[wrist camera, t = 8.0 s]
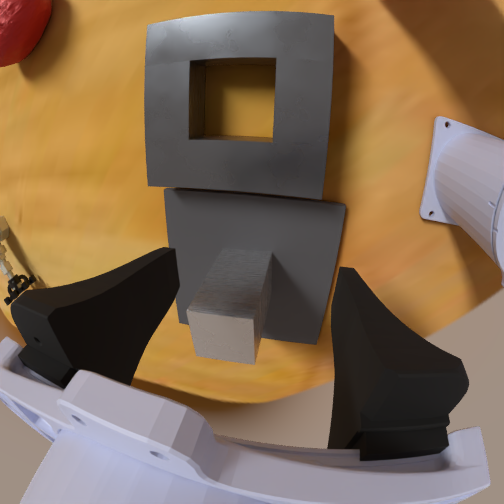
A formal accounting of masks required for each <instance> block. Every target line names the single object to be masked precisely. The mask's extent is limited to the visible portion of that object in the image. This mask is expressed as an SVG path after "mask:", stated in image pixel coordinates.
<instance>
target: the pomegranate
mask: <svg viewBox="0 0 504 504" xmlns="http://www.w3.org/2000/svg"><path fill="white" fill-rule="evenodd" d="M51 7H52V6H51V0H0V67H5V66H9V65H12V64H15V63H19V62H20V61H22V60H23V59H25V58H26V57H27V56H28V55H29V54H30V53H31V51H32V50H33V48H34V47H35V46H36V44H37V43H38V41H39V40H40V38H41V36H42V34H43V32H44V29H45V27H46V25H47V23H48V21H49V18H50V15H51V10H52V8H51Z"/></svg>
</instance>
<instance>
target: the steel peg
mask: <svg viewBox="0 0 504 504" xmlns="http://www.w3.org/2000/svg"><path fill="white" fill-rule="evenodd" d="M271 294H272V252H265V251H250V250H234V249H222V251H221V253H220V254H219V256H218V258H217V259H216V261H215V263H214V264H213V266H212V268H211V269H210V271H209V273H208V275H207V276H206V278H205V280H204V281H203V283H202V285H201V286H200V288H199V290H198V292H197V293H196V295H195V297H194V299H193V300H192V302H191V304H190V305H189V307H188V309H187V311H186V312H187V317H188V321H189V326H190V331H191V335H192V339H193V344H194V348H195V352H196V356H200V357H206V358H212V359H218V360H224V361H231V362H238V363H246V364H254V365H255V362H256V358H257V354H258V349H259V345H260V341H261V337H262V333H263V328H264V324H265V320H266V315H267V311H268V307H269V302H270V298H271Z"/></svg>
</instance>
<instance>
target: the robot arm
mask: <svg viewBox="0 0 504 504" xmlns="http://www.w3.org/2000/svg"><path fill="white" fill-rule="evenodd" d="M445 122H448V127H447V128H446V127H445ZM430 211H433V213H432V215H430V216H429V212H430ZM419 214H420V216H421V217H422V218H424V219H427V220H433V221H438V222H443V223H448V224H453V225H458V226H460V227H461V228H462V229H463V230H464V231H465V232H466V233H467V234H468V235H469V236H470V237H471V238H472V239H473V240H474V241H475V242H476V243H477V244H478V245H479V246H480V247H481V248H482V249H483V250H484V251H485V252H486V253H487V254H488V256H489V257H490V258H491V259H492V260H493V261H494V262H495V263H496V265H497V266H498V267H499V268H500V269H501V272H502V284H501V285H502V286H503V287H504V140H502V139H500V138H498V137H496V136H493V135H491V134H489V133H486V132H484V131H481V130H479V129H476V128H474V127H471V126H468V125H466V124H463V123H460V122H457V121H454V120H451V119H448V118H445V117H441V116H438V117H436V119H435V122H434V131H433V139H432V147H431V153H430V160H429V166H428V172H427V177H426V182H425V187H424V192H423V197H422V202H421V206H420V210H419ZM179 288H180V280H179V273H178V266H177V258H176V250H175V248H167V247H162V248H159V249H157V250H154V251H152V252H150V253H148V254H146V255H144V256H142V257H139V258H137V259H135V260H133V261H131V262H129V263H127V264H125V265H123V266H120V267H118V268H116V269H114V270H111V271H109V272H107V273H104V274H102V275H99V276H96V277H93V278H90V279H87V280H83V281H80V282H76V283H72V284H68V285H64V286H58V287H53V288H45V289H35V290H26V291H25V292H23V293H22V294H21V295H20V296H19V297H18V298H17V299H16V300H15V301H14V302H13V303H12V304H11V314H12V318H13V320H14V322H15V324H16V326H17V328H18V330H19V331H20V333H21V335H22V337H23V338H24V340H25V342H26V344H27V345H26V346H25V347H24V348H22V347H21V346H20V345H19V344H18V343H17V342H15V341H13V340H12V339H10V338H9V337H5V338H4V340H3V341H2V342H1V343H0V399H1V400H2V402H3V403H4V404H5V405H6V406H7V407H8V408H9V409H11V410H12V411H13V412H14V413H15V414H17V415H18V416H19V417H20V418H21V419H22V420H24V421H25V422H26V423H27V424H29V425H30V426H31V427H32V428H34V429H35V430H36V431H37V432H39V433H40V434H41V435H43V436H44V437H45V438H47V439H48V440H49V441H51V442H52V443H53V444H52V446H51V447H50V449H49V451H48V452H47V454H46V456H45V458H44V459H43V461H42V463H41V465H40V466H39V468H38V470H37V472H36V474H35V475H34V477H33V479H32V481H31V483H30V484H29V486H28V488H27V490H26V492H25V494H24V496H23V498H22V499H21V502H20V503H19V504H457V503H459V502H460V501H462V500H464V499H467V498H469V497H470V496H472V495H474V494H476V493H478V492H479V491H481V490H483V489H485V488H487V487H488V486H489V485H490V476H489V469H488V464H487V458H486V452H485V448H484V443H483V439H482V434H481V430H480V427H479V426H475V427H471V428H466V429H460V430H456V431H453V432H451V433H449V434H448V435H447V430H446V427H447V426H448V425H449V423H450V420H449V415H448V414H449V413H450V412H451V411H452V410H453V409H454V407H455V406H456V405H457V404H458V403H459V402H460V400H461V399H462V398H463V396H464V395H465V394H466V392H467V390H468V387H469V379H468V377H467V374H466V371H465V368H464V365H463V363H462V361H461V359H460V358H458V357H456V356H454V355H452V354H449V353H447V352H445V351H443V350H441V349H440V348H438V347H436V346H435V345H433V344H431V343H430V342H428V341H426V340H425V339H423V338H422V337H420V336H419V335H418V334H416V333H415V332H414V331H412V330H411V329H410V328H408V327H407V326H406V325H405V324H403V323H402V322H401V321H400V320H399V319H398V318H397V317H396V316H395V315H393V314H392V313H391V312H390V311H389V310H388V309H387V308H386V306H385V305H384V304H383V303H382V302H381V301H380V300H379V299H378V298H377V297H376V295H375V294H374V293H373V292H372V291H371V289H370V288H369V287H368V286H367V284H366V283H365V282H364V281H363V279H362V278H361V277H360V275H359V274H358V273H357V271H356V270H355V269H354V268H348V267H340V268H339V273H338V278H337V282H336V287H335V292H334V296H333V301H332V305H331V332H332V343H333V354H334V367H335V380H334V397H333V409H332V418H331V427H330V434H329V441H328V447H327V449H318V448H304V447H293V446H283V445H275V444H267V443H261V442H254V441H248V440H243V439H237V438H231V437H227V436H222V435H217V434H213V430H212V428H211V427H210V425H209V424H208V422H207V421H206V420H205V418H204V417H203V416H202V415H201V414H199V413H197V412H196V411H194V410H193V409H191V408H190V407H188V406H186V405H184V404H181V403H179V402H176V401H174V400H171V399H169V398H166V397H162V396H159V395H156V394H152V393H149V392H146V391H143V390H140V389H137V388H134V387H132V386H130V385H131V382H132V379H133V376H134V374H135V371H136V369H137V366H138V364H139V361H140V359H141V357H142V355H143V352H144V350H145V348H146V346H147V344H148V342H149V340H150V338H151V337H152V335H153V334H154V332H155V330H156V329H157V327H158V326H159V324H160V323H161V321H162V319H163V318H164V316H165V315H166V313H167V311H168V310H169V308H170V307H171V305H172V303H173V301H174V299H175V297H176V295H177V292H178V290H179Z"/></svg>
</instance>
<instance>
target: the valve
mask: <svg viewBox="0 0 504 504" xmlns="http://www.w3.org/2000/svg"><path fill="white" fill-rule="evenodd" d="M8 237H9V226H8V224H7V222H6V220H5V218H4V216H0V241H3V240H5V239H6V238H8ZM6 252H7V250H6V248H5V246H4V245H1V243H0V265H1V267H0V269H1V270H2V272H3V274H4V275H6V274H7V276H8V277H9V279H10V280H9V281H8V283H9V285H8V293H9V294H10V297H6V298H5V299H4V301H5V303H6V304H7V306H8V305H9V304H10V303H11V302H12V301H13V299H14V300H15V299H16V298H17V297H18V296H19V294H21V293H22V292H23V291H25V290H26V289H27V288H28V287H29V285H31V284H33V283H34V282H35V281H36V279H35V277H34V275H31V276H30V277H29V280H28V278H27V277H26V276H25V275H20V276H18V275H17V274H16V275H15V276H14V274H13V272H12V271H11V270H12V269H13V268H12V266H11V265H10V263H9V261H6V259H5V258H6V256H5V253H6ZM20 279H24V282H23V283H22V281H21V280H20ZM21 283H22V284H21ZM11 288H12V290H14V289H15V290H14V291H13V292H12V290H11Z"/></svg>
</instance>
